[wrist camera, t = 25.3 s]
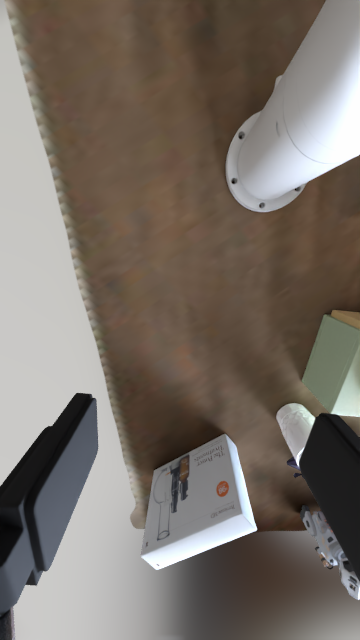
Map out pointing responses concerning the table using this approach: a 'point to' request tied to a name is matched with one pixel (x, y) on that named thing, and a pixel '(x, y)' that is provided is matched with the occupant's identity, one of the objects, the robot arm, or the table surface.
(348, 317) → the drawer
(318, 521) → the figurine
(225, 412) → the table surface
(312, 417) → the white cup
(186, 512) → the skincare box
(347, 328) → the cabinet
